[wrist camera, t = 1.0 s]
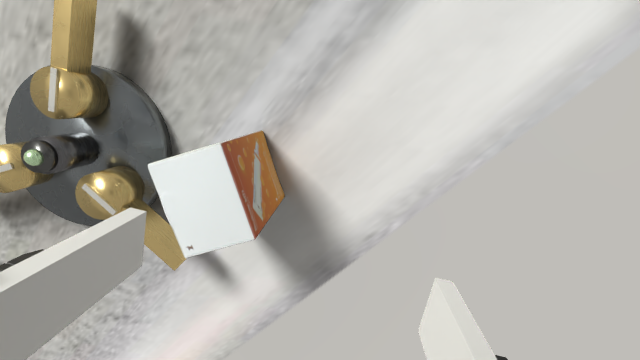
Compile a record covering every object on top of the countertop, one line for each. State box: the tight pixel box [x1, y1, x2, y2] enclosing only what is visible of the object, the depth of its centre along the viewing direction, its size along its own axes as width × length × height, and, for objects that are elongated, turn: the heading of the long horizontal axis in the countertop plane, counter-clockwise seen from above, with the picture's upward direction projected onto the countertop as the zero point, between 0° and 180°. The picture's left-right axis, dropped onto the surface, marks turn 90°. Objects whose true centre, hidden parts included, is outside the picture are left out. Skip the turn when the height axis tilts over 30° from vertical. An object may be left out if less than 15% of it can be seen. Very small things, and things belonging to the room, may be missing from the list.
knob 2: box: [30, 0, 108, 119], centre depth 33 cm, size 13×5×4 cm, turn 165°
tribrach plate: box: [5, 65, 171, 226], centre depth 35 cm, size 18×18×9 cm
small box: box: [148, 130, 285, 258], centre depth 32 cm, size 8×6×13 cm
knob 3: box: [75, 166, 187, 271], centre depth 36 cm, size 13×5×4 cm, turn 45°
